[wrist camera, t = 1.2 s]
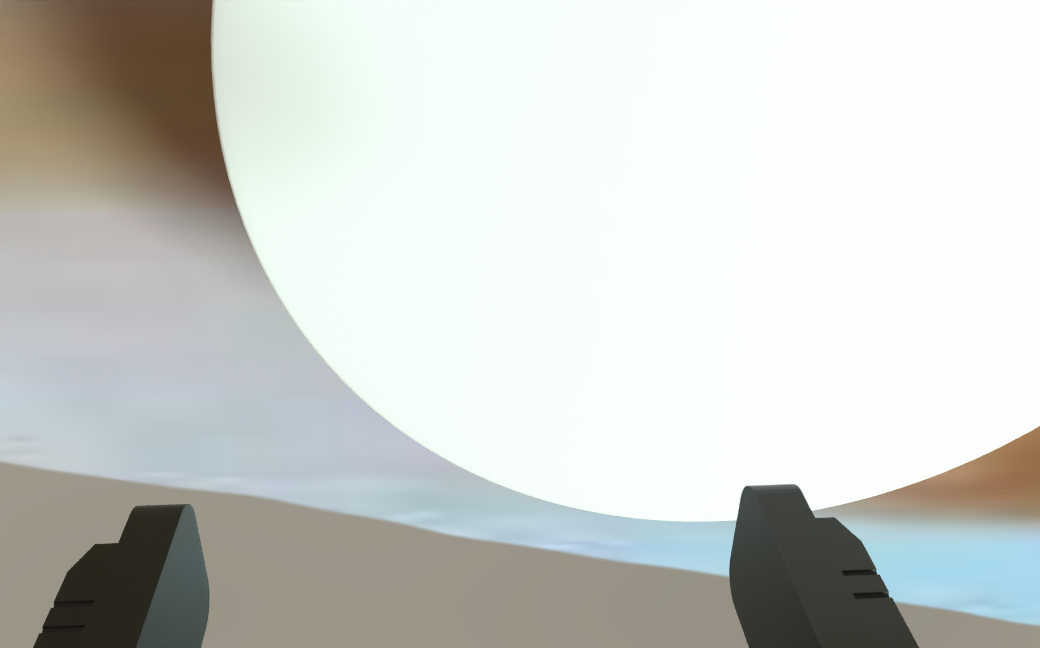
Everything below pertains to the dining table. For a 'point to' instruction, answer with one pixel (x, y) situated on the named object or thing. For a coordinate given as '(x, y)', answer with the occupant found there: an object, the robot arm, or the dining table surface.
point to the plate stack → (654, 232)
